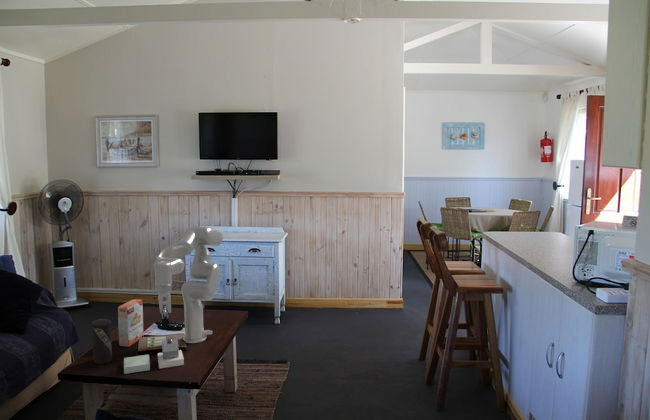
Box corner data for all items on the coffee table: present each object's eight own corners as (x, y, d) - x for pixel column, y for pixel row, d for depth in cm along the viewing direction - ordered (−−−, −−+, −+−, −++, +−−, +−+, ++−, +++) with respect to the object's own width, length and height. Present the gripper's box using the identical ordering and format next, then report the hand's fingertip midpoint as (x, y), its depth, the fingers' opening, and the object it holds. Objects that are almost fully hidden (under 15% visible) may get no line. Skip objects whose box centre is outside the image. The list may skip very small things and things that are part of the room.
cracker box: (129, 347, 254) (127, 307, 251) (118, 346, 255) (116, 306, 252) (144, 337, 268) (142, 299, 265) (134, 336, 269) (132, 298, 266)
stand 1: (149, 360, 239) (148, 354, 238) (150, 370, 229) (149, 363, 228) (124, 363, 235) (124, 357, 234) (124, 373, 225) (123, 367, 224)
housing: (177, 352, 240) (177, 336, 239) (178, 357, 235) (178, 340, 234) (162, 354, 238) (161, 338, 237) (163, 359, 233) (162, 343, 232)
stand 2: (181, 355, 244) (181, 349, 244) (183, 364, 234) (183, 358, 234) (157, 359, 240) (157, 353, 240) (159, 368, 230) (158, 362, 230)
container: (100, 366, 232) (98, 325, 230) (89, 361, 237) (86, 321, 234) (117, 359, 239) (114, 319, 237) (105, 355, 244) (103, 316, 242)
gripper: (173, 292, 226) (174, 328, 228) (171, 282, 242) (172, 316, 244) (155, 293, 224) (157, 330, 226) (155, 283, 240) (156, 318, 242)
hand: (165, 323), depth 235 cm, fingers open, 9 cm apart
